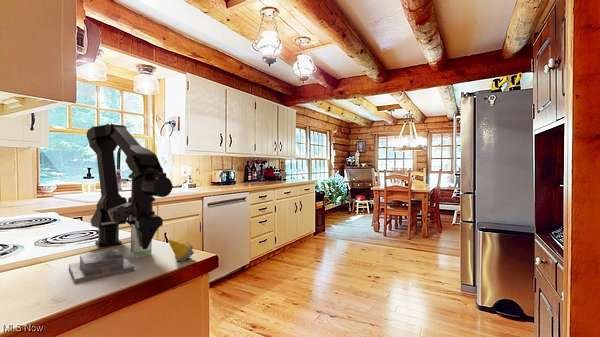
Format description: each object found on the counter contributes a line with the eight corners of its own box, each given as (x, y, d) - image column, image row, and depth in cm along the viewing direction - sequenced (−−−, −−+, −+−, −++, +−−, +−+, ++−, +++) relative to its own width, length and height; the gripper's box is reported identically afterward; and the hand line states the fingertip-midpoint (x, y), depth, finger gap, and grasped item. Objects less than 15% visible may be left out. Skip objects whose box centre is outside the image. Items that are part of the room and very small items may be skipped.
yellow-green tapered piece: (197, 262, 82) (173, 244, 76) (181, 268, 83) (157, 251, 77) (200, 247, 86) (178, 228, 80) (185, 253, 87) (162, 235, 82)
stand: (69, 268, 74) (69, 254, 74) (122, 258, 82) (122, 246, 82) (75, 283, 65) (75, 268, 65) (134, 270, 74) (134, 257, 74)
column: (130, 253, 86) (130, 224, 86) (146, 251, 90) (147, 222, 89) (134, 257, 83) (135, 226, 83) (151, 254, 86) (152, 224, 86)
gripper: (103, 192, 87) (102, 243, 87) (118, 199, 74) (117, 259, 74) (144, 190, 95) (143, 237, 95) (164, 196, 81) (162, 251, 82)
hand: (141, 245), depth 86 cm, fingers open, 7 cm apart
